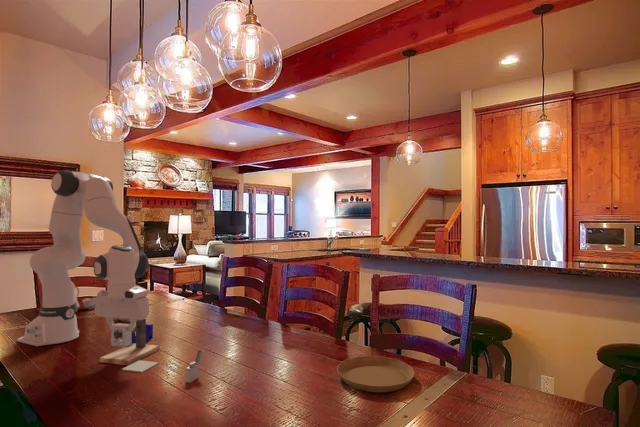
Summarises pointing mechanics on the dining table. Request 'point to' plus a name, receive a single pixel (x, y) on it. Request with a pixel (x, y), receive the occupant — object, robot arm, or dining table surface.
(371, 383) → the plant saucer
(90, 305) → the chinaware
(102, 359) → the hook rack
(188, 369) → the lighter
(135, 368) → the felt pad
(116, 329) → the pinkish grey hollow block
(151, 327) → the blue notched block
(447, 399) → the dining table surface
